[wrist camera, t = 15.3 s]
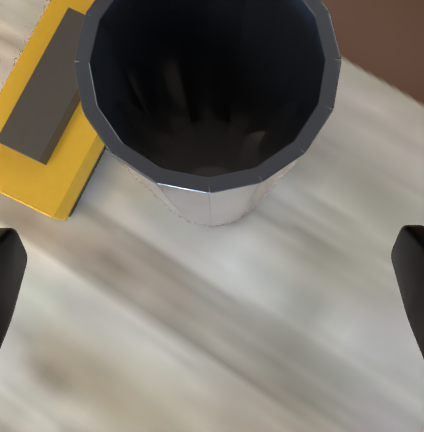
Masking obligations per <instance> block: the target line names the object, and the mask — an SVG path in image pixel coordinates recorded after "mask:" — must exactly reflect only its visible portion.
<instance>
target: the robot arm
mask: <svg viewBox="0 0 424 432" xmlns="http://www.w3.org/2000/svg"><path fill="white" fill-rule="evenodd" d="M391 259H392V263H393V267H394V271H395V274H396V278H397V282H398V285H399V289H400V293H401V296H402V300H403V304H404V308H405V311H406V314H407V317H408V320H409V323H410V325H411V328H412V331H413V333H414V336H415V338H416V341H417V343H418V346H419V348H420V351H421V353H422V356H423V358H424V226H422V225H405V226H403V227H402V228H401V230H400V232H399V234H398V237H397V239H396V242H395V244H394V246H393V249H392V253H391ZM26 264H27V253H26V251H25V249H24V246H23V244H22V242H21V240H20V238H19V235H18V233H17V231H16V230H15V229H13V228H0V348H1V345H2V343H3V340H4V338H5V335H6V332H7V330H8V327H9V324H10V322H11V319H12V316H13V312H14V309H15V305H16V301H17V297H18V294H19V290H20V286H21V283H22V279H23V275H24V271H25V268H26Z"/></svg>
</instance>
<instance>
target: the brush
mask: <svg viewBox="0 0 424 432" xmlns="http://www.w3.org/2000/svg"><path fill="white" fill-rule="evenodd" d="M94 1H95V0H51V1H50V3H49V5H48V6H47V8H46V10H45V12H44V14H43V15H42V17H41V19H40V21H39V23H38V25H37V26H36V28H35V30H34V32H33V34H32V36H31V37H30V39H29V41H28V43H27V45H26V46H25V48H24V50H23V52H22V54H21V56H20V57H19V59H18V61H17V63H16V65H15V67H14V68H13V70H12V72H11V74H10V76H9V77H8V79H7V81H6V83H5V85H4V87H3V88H2V90H1V92H0V193H2V194H4V195H6V196H8V197H10V198H12V199H14V200H17V201H19V202H21V203H23V204H25V205H27V206H29V207H31V208H33V209H35V210H37V211H39V212H41V213H43V214H45V215H47V216H49V217H52V218H55V219H60V220H66V219H67V217H68V216H71V214H72V212H73V210H74V208H75V206H76V204H77V203H78V201H79V199H80V197H81V195H82V193H83V191H84V189H85V187H86V185H87V183H88V181H89V179H90V177H91V175H92V173H93V171H94V169H95V168H96V166H97V164H98V162H99V160H100V158H101V156H102V154H103V152H104V150H105V148H106V146H105V145H104V143H103V142H102V141H101V139H100V138H99V136H98V135H97V133H96V132H95V130H94V129H93V127H92V126H91V124H90V123H89V121H88V120H87V118H86V117H85V115H84V112H83V111H82V106H81V100H80V95H79V89H78V84H77V78H76V73H75V67H74V59H75V55H76V50H77V46H78V42H79V38H80V33H81V29H82V25H83V20H84V16H85V15H86V12H87V10H88V9H89V8H90V6H91V5H92V3H93V2H94Z"/></svg>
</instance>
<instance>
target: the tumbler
mask: <svg viewBox="0 0 424 432" xmlns="http://www.w3.org/2000/svg"><path fill="white" fill-rule="evenodd" d="M340 66H341V55H340V51H339V47H338V44H337V39H336V36H335V32H334V28H333V24H332V20H331V16H330V12H328V9H327V8H326V6H325V5H324V3H323V2H322V1H321V0H95V1H94V2H93V3H92V5H91V6H90V8H89V9H88V10H87V12H86V15H85V16H84V20H83V25H82V29H81V33H80V38H79V42H78V46H77V50H76V55H75V59H74V67H75V73H76V78H77V84H78V89H79V95H80V100H81V106H82V111H83V112H84V115H85V117H86V118H87V120H88V121H89V123H90V124H91V126H92V127H93V129H94V130H95V132H96V133H97V135H98V136H99V138H100V139H101V141H102V142H103V143H104V145H105V146H106V148H107V149H108V151H109V152H110V154H111V155H112V156H113V157H114V158H115V159H116V160H117V161H118V162H120V163H121V164H122V165H123V166H124V167H125V168H126V169H127V170H128V171H129V172H130V173H131V174H132V175H133V176H134V177H135V178H136V179H138V180H139V181H140V182H141V183H142V184H143V185H144V186H145V187H146V188H147V189H148V190H149V191H150V192H151V193H152V194H153V195H154V196H156V197H157V198H158V199H159V200H160V201H161V202H162V203H163V204H164V205H165V206H166V207H167V208H168V209H169V210H170V211H172V212H174V213H175V214H177V215H178V216H179V217H181V218H183V219H184V220H186V221H187V222H189V223H193V224H197V225H202V226H210V227H211V226H219V225H225V224H228V223H232V222H235V221H236V220H238V219H239V218H241V217H243V216H244V215H245V214H247V213H248V212H249V211H251V210H252V209H253V208H254V207H255V206H256V205H257V204H258V203H259V202H260V201H261V200H262V199H263V198H264V197H265V195H266V194H267V193H268V192H269V191H270V190H271V189H272V188H273V187H274V186H275V185H276V184H277V183H278V182H279V180H280V179H281V178H282V177H283V176H284V175H285V174H286V173H287V172H288V171H289V170H290V169H291V168H292V167H293V165H294V164H295V163H296V162H297V161H298V160H299V159H300V158H301V157H302V156H303V155H304V154H305V153H306V152H307V150H308V148H309V147H310V145H311V144H312V142H313V141H314V139H315V138H316V136H317V134H318V133H319V131H320V130H321V128H322V127H323V125H324V124H325V122H326V121H327V119H328V117H329V116H330V114H331V113H332V111H333V108H334V103H335V97H336V91H337V85H338V79H339V73H340Z"/></svg>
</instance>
